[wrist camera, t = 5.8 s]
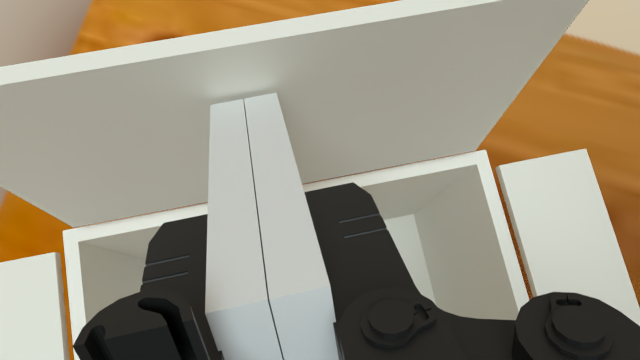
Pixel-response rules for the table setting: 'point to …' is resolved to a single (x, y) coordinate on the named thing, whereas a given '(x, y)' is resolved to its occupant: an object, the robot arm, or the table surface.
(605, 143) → the table surface
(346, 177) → the carton
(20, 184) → the front flap
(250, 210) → the robot arm
